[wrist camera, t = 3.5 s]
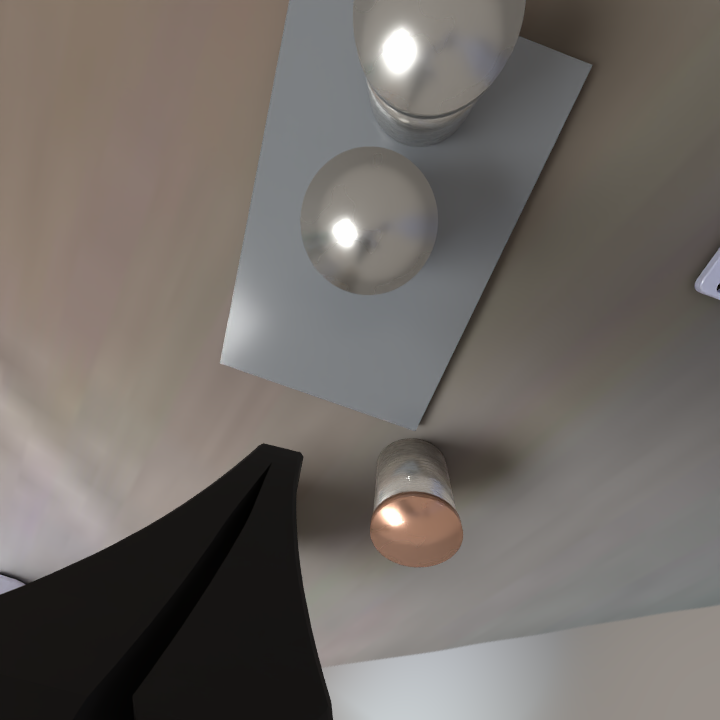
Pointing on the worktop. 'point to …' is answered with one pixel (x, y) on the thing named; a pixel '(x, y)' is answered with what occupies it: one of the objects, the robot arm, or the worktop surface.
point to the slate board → (454, 233)
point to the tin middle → (369, 220)
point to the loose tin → (414, 506)
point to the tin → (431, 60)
